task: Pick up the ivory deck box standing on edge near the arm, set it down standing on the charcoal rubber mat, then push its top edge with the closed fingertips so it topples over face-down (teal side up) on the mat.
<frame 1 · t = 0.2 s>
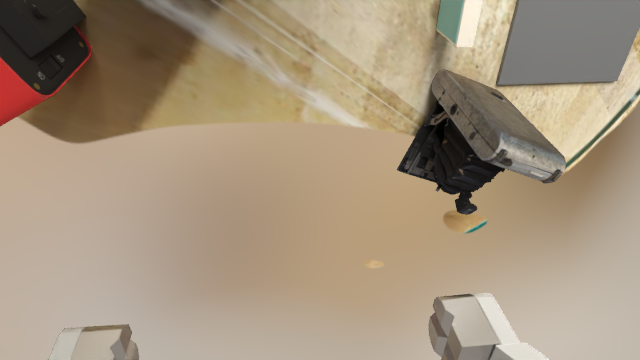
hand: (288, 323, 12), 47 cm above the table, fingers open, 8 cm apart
vintage camera: (440, 122, 64), on the table
deck box: (448, 1, 54), on the table
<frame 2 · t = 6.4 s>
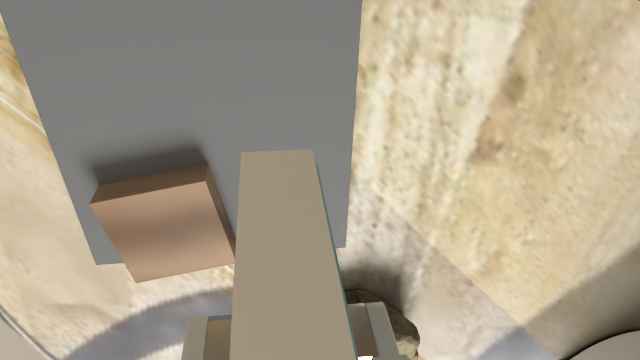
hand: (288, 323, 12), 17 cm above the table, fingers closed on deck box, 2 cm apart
walnut block: (173, 215, 30), point 1 cm above the table, touching mat
mat: (205, 116, 26), on the table
stone: (338, 328, 40), on the table
deck box: (281, 243, 14), point 14 cm above the table, touching gripper
when the fingers open (4 cm above the table, at t = 8.9 s): deck box stays where it is, resting on mat.
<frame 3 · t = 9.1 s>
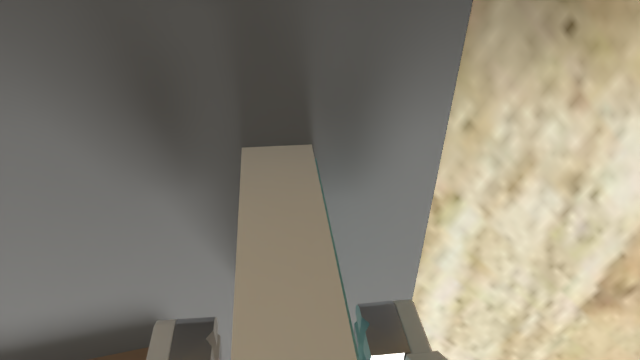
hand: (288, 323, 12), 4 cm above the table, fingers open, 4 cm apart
mat: (170, 276, 16), on the table
deck box: (281, 237, 15), point 1 cm above the table, touching mat
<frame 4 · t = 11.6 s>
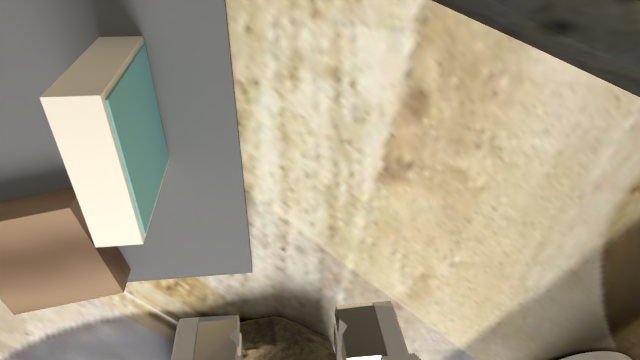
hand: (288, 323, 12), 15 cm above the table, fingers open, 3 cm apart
walnut block: (52, 242, 27), point 1 cm above the table, touching mat
mat: (72, 136, 24), on the table
stone: (262, 354, 38), on the table
deck box: (137, 104, 23), point 1 cm above the table, touching mat
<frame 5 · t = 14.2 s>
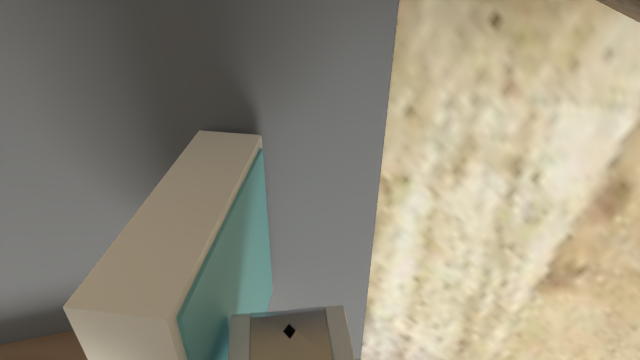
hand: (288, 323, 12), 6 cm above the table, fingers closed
mat: (142, 252, 17), on the table
deck box: (240, 219, 16), point 1 cm above the table, tilted 14°, touching mat
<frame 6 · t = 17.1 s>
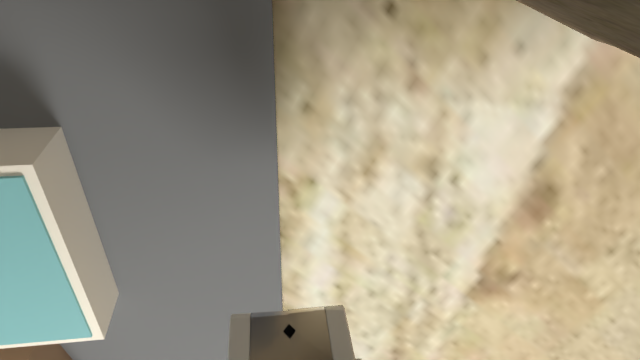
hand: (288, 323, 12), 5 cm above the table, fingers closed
mat: (27, 259, 16), on the table
deck box: (84, 242, 14), point 2 cm above the table, tilted 90°, touching mat
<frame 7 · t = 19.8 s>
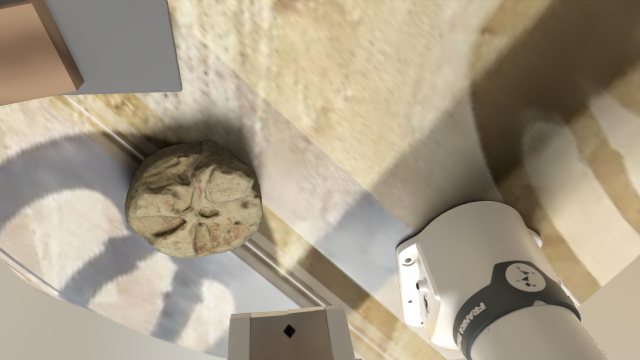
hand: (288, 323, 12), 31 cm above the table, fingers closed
walnut block: (22, 50, 36), point 1 cm above the table, touching mat
stone: (201, 187, 47), on the table
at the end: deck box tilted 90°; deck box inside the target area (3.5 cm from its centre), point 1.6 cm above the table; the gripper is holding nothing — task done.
